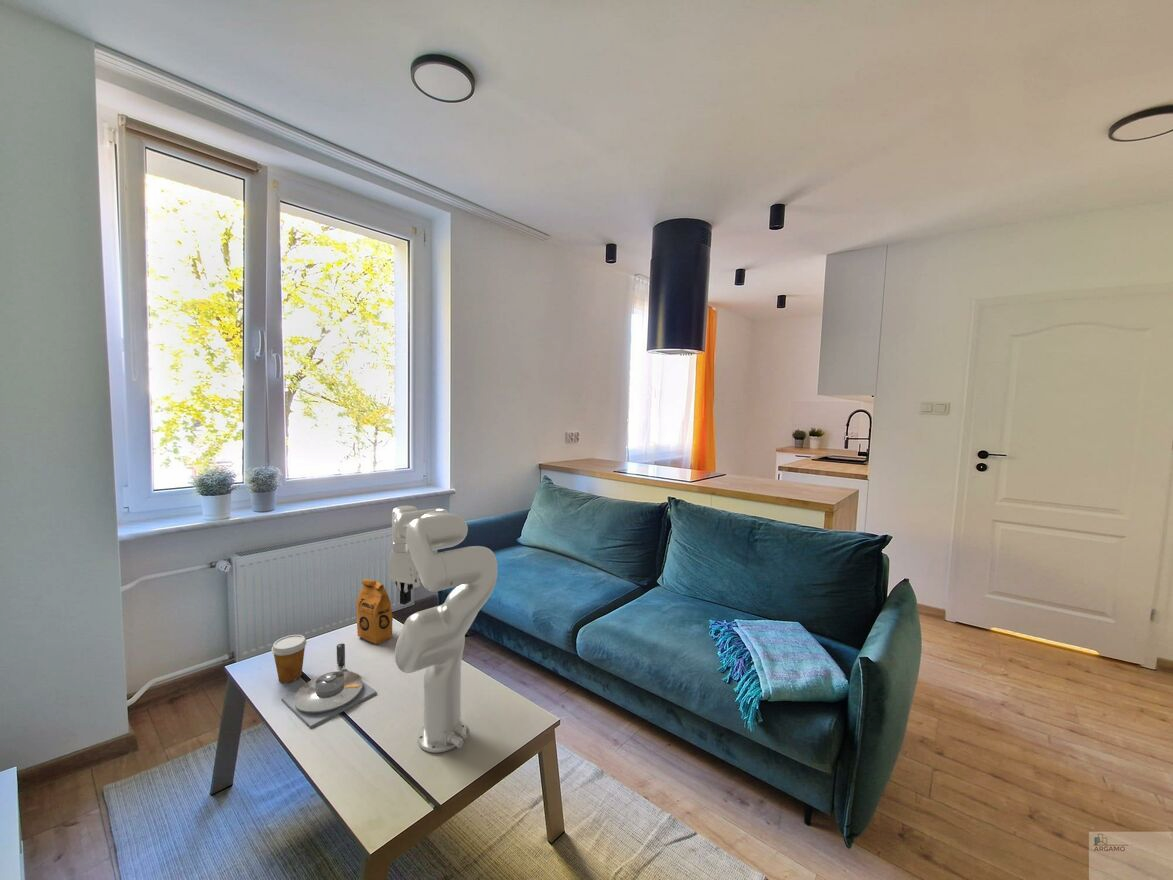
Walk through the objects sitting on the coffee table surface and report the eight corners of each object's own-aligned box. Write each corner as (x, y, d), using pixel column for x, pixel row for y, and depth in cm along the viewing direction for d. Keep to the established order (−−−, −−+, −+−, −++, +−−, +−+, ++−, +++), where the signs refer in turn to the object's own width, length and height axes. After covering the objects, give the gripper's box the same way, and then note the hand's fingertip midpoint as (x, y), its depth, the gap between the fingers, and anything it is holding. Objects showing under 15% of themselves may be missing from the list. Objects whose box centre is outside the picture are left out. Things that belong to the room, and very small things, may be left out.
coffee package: (373, 648, 167) (372, 590, 165) (353, 638, 173) (352, 581, 171) (397, 636, 175) (396, 581, 173) (377, 627, 182) (377, 573, 180)
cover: (345, 680, 144) (344, 666, 144) (343, 694, 137) (342, 680, 137) (317, 685, 141) (317, 671, 140) (314, 700, 134) (313, 686, 134)
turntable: (355, 708, 133) (354, 683, 133) (284, 717, 129) (284, 691, 128) (371, 662, 156) (370, 640, 155) (311, 669, 151) (311, 646, 151)
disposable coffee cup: (314, 669, 153) (313, 635, 152) (293, 687, 144) (292, 650, 143) (287, 667, 154) (286, 632, 153) (265, 684, 145) (263, 648, 144)
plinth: (376, 693, 142) (376, 691, 142) (310, 728, 127) (310, 725, 126) (345, 670, 153) (345, 668, 153) (281, 700, 138) (281, 697, 138)
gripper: (432, 545, 144) (432, 602, 146) (395, 539, 149) (395, 593, 151) (416, 553, 137) (416, 612, 139) (377, 546, 142) (377, 602, 144)
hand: (405, 602), depth 145 cm, fingers closed
